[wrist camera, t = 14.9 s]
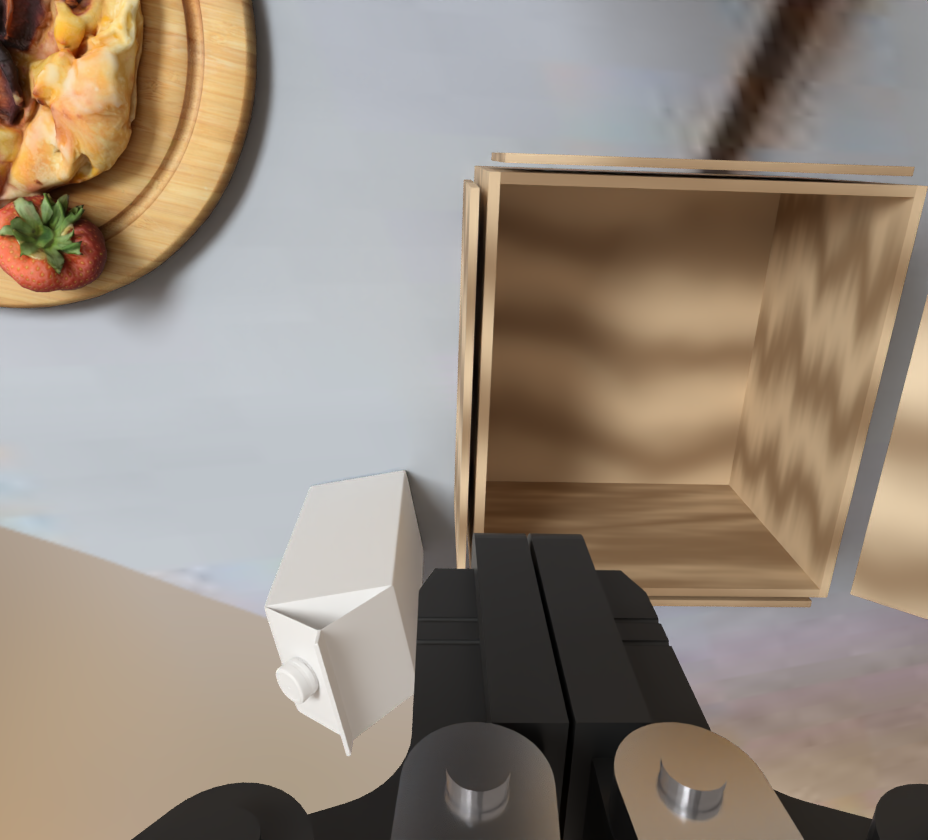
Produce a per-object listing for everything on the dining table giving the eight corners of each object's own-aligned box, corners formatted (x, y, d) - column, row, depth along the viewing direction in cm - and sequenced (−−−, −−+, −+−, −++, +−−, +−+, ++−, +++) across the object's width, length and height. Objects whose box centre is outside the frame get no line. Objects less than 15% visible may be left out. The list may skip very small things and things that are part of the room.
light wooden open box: (462, 151, 45) (471, 151, 31) (791, 162, 45) (934, 167, 32) (452, 493, 53) (456, 606, 40) (731, 497, 54) (825, 609, 41)
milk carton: (405, 467, 52) (388, 632, 34) (424, 551, 55) (416, 745, 37) (309, 484, 52) (243, 656, 34) (332, 567, 55) (281, 767, 37)
